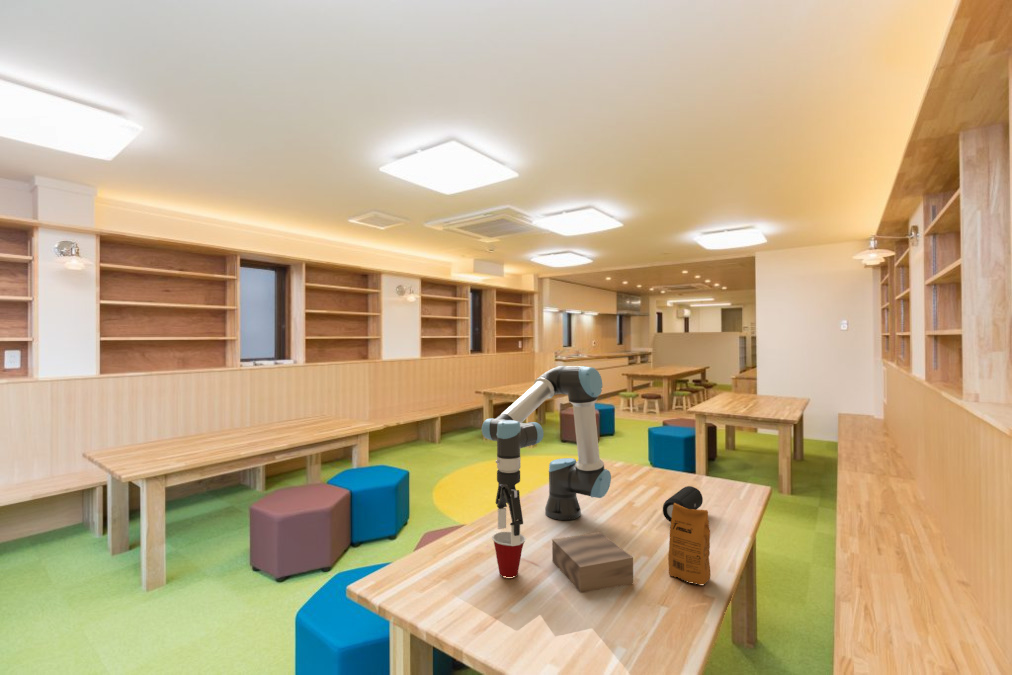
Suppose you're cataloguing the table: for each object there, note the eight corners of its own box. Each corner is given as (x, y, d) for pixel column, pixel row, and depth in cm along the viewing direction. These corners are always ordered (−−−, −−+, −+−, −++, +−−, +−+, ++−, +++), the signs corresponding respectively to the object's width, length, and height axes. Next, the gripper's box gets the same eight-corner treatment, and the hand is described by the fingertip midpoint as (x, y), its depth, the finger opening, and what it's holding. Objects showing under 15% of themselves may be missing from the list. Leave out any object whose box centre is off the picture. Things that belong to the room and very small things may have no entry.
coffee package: (675, 564, 152) (675, 497, 152) (714, 576, 143) (714, 506, 143) (663, 575, 144) (662, 505, 144) (703, 589, 136) (702, 515, 136)
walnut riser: (552, 563, 153) (552, 539, 153) (599, 555, 158) (599, 531, 158) (580, 594, 134) (580, 567, 134) (633, 583, 139) (632, 557, 139)
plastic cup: (533, 573, 146) (532, 535, 146) (511, 586, 138) (510, 547, 138) (507, 562, 153) (507, 526, 153) (485, 574, 145) (485, 537, 145)
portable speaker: (685, 528, 181) (684, 503, 181) (660, 522, 187) (660, 497, 187) (704, 509, 200) (704, 487, 201) (681, 504, 207) (681, 482, 207)
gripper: (486, 461, 157) (486, 523, 156) (510, 481, 133) (509, 554, 133) (507, 459, 159) (507, 520, 159) (533, 479, 135) (533, 551, 135)
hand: (508, 536), depth 146 cm, fingers open, 13 cm apart
